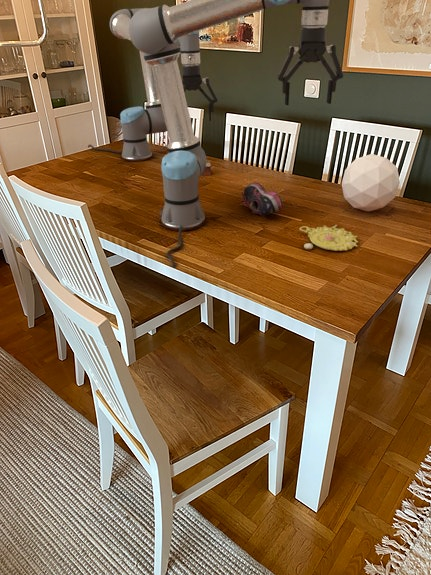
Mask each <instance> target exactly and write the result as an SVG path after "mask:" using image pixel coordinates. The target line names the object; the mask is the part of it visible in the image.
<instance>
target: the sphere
mask: <svg viewBox="0 0 431 575" xmlns="http://www.w3.org/2000/svg"><path fill="white" fill-rule="evenodd" d="M400 183H401V181H400V176H399V170H398V167H397V165H395V164H394V163H393V162H392V161H390V160H389V159H388V157H385V156H382V155H381V156H380V155H377V154H374V153H370V154H367V155H362V156H360V157H356V158H355V159H354V160H353V161H352V162H351V163H350V164H349V165H348V166H347V167H346V168H345V169H344V173H343V177H342V180H341V188H342V193H343V199H345V200H346V201H347V203H349V204H350V206H352V208H354V209H358V210H361V211H364V212H367V213H368V212H372V211H376V210H379V209H382V208H384V207H385V206H387V205H388V204H390V203H391V201H393V200H394V199H395V198H396V196H397V193H398V190H399V187H400Z"/></svg>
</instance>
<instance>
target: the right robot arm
mask: <svg viewBox="0 0 431 575" xmlns="http://www.w3.org/2000/svg"><path fill="white" fill-rule="evenodd" d="M294 4H295V5H296V4H297V5H299V4H302V8H301V21H300V26H302V27H301V29H300V35H299V37H300V38H299V45H298V46H293V45H290V46H289V47H288V51H287V52H288V53H287V56H286V58H285V59H284V62H283V64H282V66H281V68H280V70H279V72H278V73H277V76H276V79H277V80H278V81H280V82H282V85H281V86H282V88H281V92H282V94H284V105H285V106H289V104H290V103H289V102H290V88H291V87H290V86H291V83H290V82H289V80H290V79H291V78H292V77H293V76H294V74H295V73H296V72H297V70H298V69H299V68H300V67H301V65H303V64H304V63H307V64H308V63H318V62H319V63H320V64H321V66H322V67H323V68H324V70H325V72H326V73H327V75H328V76H329V78H330V79H328V84H327V93H326V94H327V95H326V103H327V104H328V105H331V104H332V100H333V99H332V97H333V93H335V92H336V89H337V82H338V80H340V79H343V78H344V73H343V71H342V68H341V65H340V62H339V58H338V56H337V54H336V52H337V51H336V50H337V48H336V47H337V46H336V45H335V44H330V45H327V44H326V40H327V32H328V31H327V27H326V26H327V25H328V20H329V19H328V17H329V9H330V8H329V7H330V0H187V1H184V2H181V3H178V4H175V5H172V6H168V5H167V4H162V5H159V6H155V7H150V8H148V7H144V8H145V9H141V10H139V11H137V12H136V13H135V14H134V15H133V17H132V18H131V20H130V24H129V35H130V39H131V41H130V42H131V43H132V44H133V46H134V48H136V49H137V50H138V51H139V50H140V51H141V52H143V55H144V59H145V62H146V63H148V64H149V65H150V66H151V67H152V71H153V75H154V79H155V83H156V87H157V91H158V95H159V99H160V103H161V107H162V111H163V115H164V119H165V123H166V127H167V131H166V132H167V135H168V137H169V142H168V144H167V146H166V148H167V151H168V153H167V154H165V155H164V156H163V157H162V159H161V167H160V168H161V173H162V174H161V176H162V184H163V194H164V204H163V209H162V210H159V216H161V219H160V220H161V225H162V227H163V228H165V229H167V230H170V231H175V232H176V231H177V232H178V236H177V242H178V243H179V245H178V246H175V247H173V248H171V249H169V250H168V251H167V252H166V257H167V258H168V259H169V260H170V262H171V265H172V268H173V269H175V268H176V264H175V259H174V258H173V257H172V256H171V255H170V253H172V252H174V251H177V250H179V249H181V248H182V247H183V242H182V240H181V238H182V232H185V231H186V232H187V231H192V230H195V229H198V228H201V227H202V226H203V225H204V224H205V223H206V215H205V212H204V210H203V208H202V204H201V202H200V196H199V180H200V178H201V175H202V173H203V171H204V170H205V167H206V163H207V156H206V153H205V152H206V151H205V150H204V149H203V147H202V146H201V141H200V138H199V137H197V136H196V135H195V134H194V130H193V125H192V121H191V120H192V119H191V116H190V112H189V106H188V102H187V98H186V94H185V92H184V89H183V87H184V85H183V84H182V80H181V79H182V76H181V75H182V74H181V70H180V67H179V62H178V59H179V57H180V56H181V48H180V47H179V44H178V40H177V39H178V38H179V37H182V36H185V35H188V34H191V33H194V32H197V31H199V32H200V31H204V30H206V29H209V28H212V27H215V26H218V25H221V24H224V23H228V22H230V21H234V20H237V19H240V18H243V17H246V16H249V15H252V14H255V13H258V12H261V11H264V10H268V9H272V8H275V7H278V6H282V5H294ZM140 51H139V52H140ZM297 53H298V54H299V57H298V58H297V59H296V61H295V63H294V64H293V65H292V66H291V68H290V69H289V70H288V68H289V66H290V64H291V62H292V59H293V57H294V56H296V54H297ZM325 53H328V54H329V56H330V60H331V62H332V65H333V68H334V70H333V69H332V68H331V66H330V65H329V63H328V62H327V61H326V58H325V57H324V54H325ZM287 70H288V71H287ZM334 71H335V72H334ZM286 72H287V73H286Z"/></svg>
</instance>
